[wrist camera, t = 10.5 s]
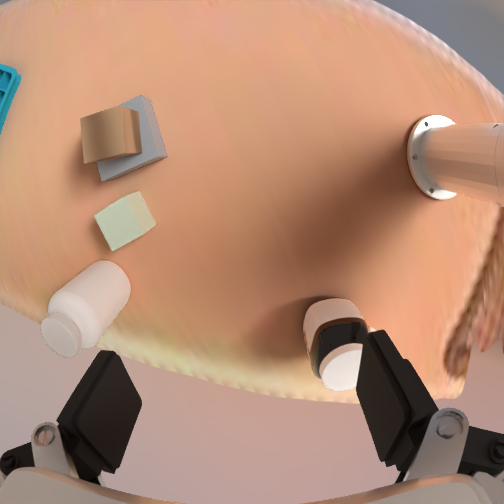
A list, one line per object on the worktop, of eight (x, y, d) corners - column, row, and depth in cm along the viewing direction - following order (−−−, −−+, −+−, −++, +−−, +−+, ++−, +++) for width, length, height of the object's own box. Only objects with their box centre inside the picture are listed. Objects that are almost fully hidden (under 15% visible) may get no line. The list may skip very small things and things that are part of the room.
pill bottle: (131, 262, 36) (79, 318, 22) (133, 311, 39) (92, 376, 25) (85, 254, 36) (24, 300, 22) (89, 301, 38) (40, 356, 24)
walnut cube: (138, 111, 27) (120, 105, 22) (142, 153, 28) (124, 153, 24) (101, 122, 27) (80, 118, 22) (105, 161, 28) (84, 163, 24)
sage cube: (139, 190, 33) (124, 195, 29) (156, 224, 35) (143, 234, 30) (111, 208, 34) (93, 215, 29) (127, 240, 36) (112, 251, 31)
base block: (151, 100, 30) (141, 94, 26) (168, 156, 32) (158, 156, 29) (100, 125, 30) (85, 123, 27) (115, 178, 33) (101, 181, 29)
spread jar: (302, 293, 38) (321, 343, 27) (375, 285, 38) (412, 328, 27) (300, 358, 42) (313, 412, 31) (365, 348, 42) (390, 396, 31)
